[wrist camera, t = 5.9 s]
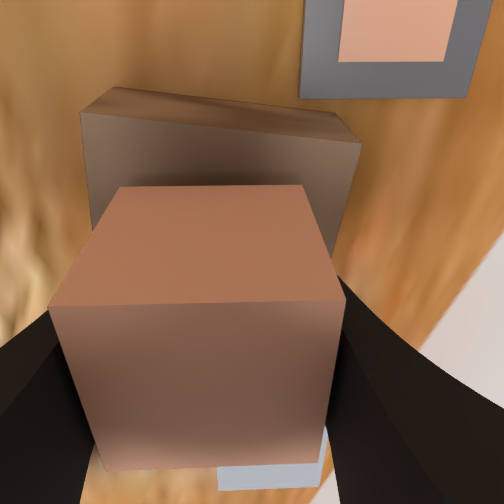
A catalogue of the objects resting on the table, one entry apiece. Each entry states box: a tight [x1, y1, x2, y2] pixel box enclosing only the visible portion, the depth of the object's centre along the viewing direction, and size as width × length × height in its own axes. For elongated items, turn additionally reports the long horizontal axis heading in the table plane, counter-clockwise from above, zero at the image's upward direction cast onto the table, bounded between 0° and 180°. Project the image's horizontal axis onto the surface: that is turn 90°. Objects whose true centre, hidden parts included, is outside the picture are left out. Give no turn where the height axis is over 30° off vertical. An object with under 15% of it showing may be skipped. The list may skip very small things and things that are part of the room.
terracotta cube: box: [47, 185, 346, 471], centre depth 10 cm, size 5×5×5 cm
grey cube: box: [217, 426, 328, 491], centre depth 20 cm, size 5×5×5 cm
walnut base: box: [80, 87, 362, 259], centre depth 15 cm, size 8×8×4 cm
